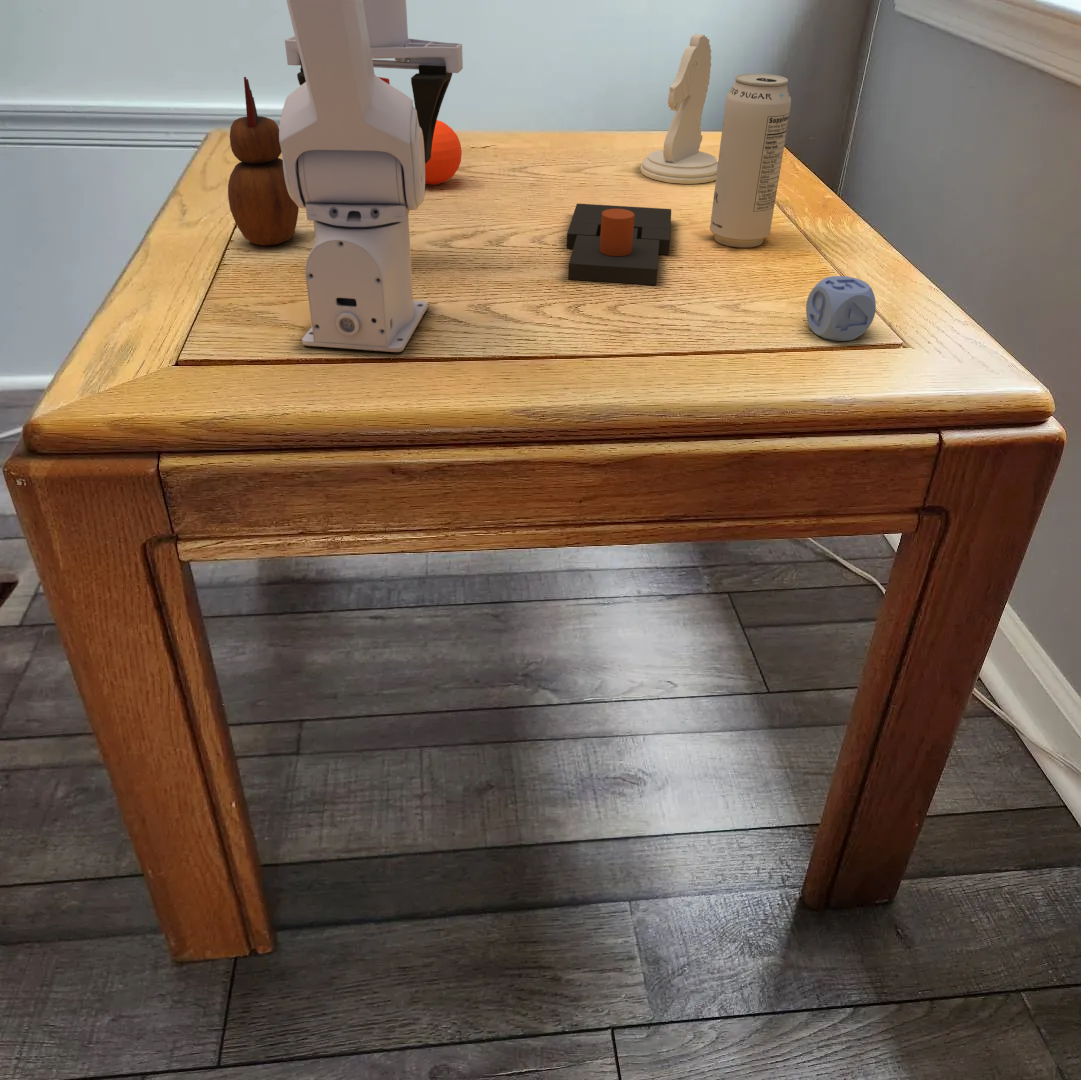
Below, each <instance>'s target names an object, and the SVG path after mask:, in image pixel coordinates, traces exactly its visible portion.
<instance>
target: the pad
mask: <svg viewBox="0 0 1081 1080" xmlns="http://www.w3.org/2000/svg"><path fill="white" fill-rule="evenodd" d="M634 216H635V215H634V213H633V212H631V211H629V210H625V209H608V210H605V211H603V212H602V217H601V232H600V236H585V235H577V237H576V240H575V244H574V247H573V249H572V251H571V253H570V258H569V262H568V270H567V271H568V273H567V275H568V276H567V279H568V280H573V281H574V280H575V281H590V282H603V283H605V282H606V283H618V284H633V285H635V284H636V285H649V286H650V285H651V286H656V285H657V280H658V279H657V277H658V269H659V268H658V265H659V255H660V254H659V240H649V239H637V234H638V228H634Z"/></svg>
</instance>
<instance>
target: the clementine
mask: <svg viewBox="0 0 1081 1080" xmlns="http://www.w3.org/2000/svg"><path fill="white" fill-rule="evenodd" d="M462 152H463V151H462V145H461V141H460V139H459V137H458V135H457V133H456V132H455V130H454V129H453V128H452V127H451V126H449V125H448V124H447V123H446V122H444V121H442V120H438V119H437V121H436V125H435V130H434V135H433V141H432V149H431V158H430V160H429V161H428V162H427V163H425V185H430V186H431V185H433V186H434V185H435V186H436V185H439V184H443V183H446V182H447V181H449V180H450V179H452V177H454V175H455V174H456V173H457V171H458V170H459V168H460V165H461V163H462Z"/></svg>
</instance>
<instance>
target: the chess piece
mask: <svg viewBox="0 0 1081 1080" xmlns="http://www.w3.org/2000/svg"><path fill="white" fill-rule="evenodd" d="M711 67H712V49H711V45H710V38H708V36H706V35H705V34H700V33H694V34H692V35H691V36H690V41H689V45H687V46H686V47H685V49H684V50H683V53H682V56H681V59H680V62H679V66H678V69H677V73H676V76H675V78H674V79H673V82H672V83H671V85H670V86H669V91H668V92H669V93H668V98H667V99H668V100H667V105H668V108H669V111H673V112H675V113H674V116H673V118H672V120H671V122H670V125H669V127H668V131H667V132H666V134H665V138H664V141H663V149H659V150H653V151H652V152H649V153H648V154H647V156H646V157H645V158H643V160H642V162H641V165H640V173H641V174H642V175H643V176H645V177H647V178H649V179H651V180H655V181H659V182H664V183H670V184H671V183H672V184H679V185H680V184H681V185H682V184H683V185H693V184H694V185H695V184H697V185H698V184H705V183H711V182H713V181H716V175H717V167H718V161H717V160H718V159H717V157H716V156H714V155H712V154H710V153H708V152H704V151H700V148H701V144H702V141H703V135H702V128H701V126H702V116H703V111H704V106H705V103H706V99H707V93H708V90H709V85H710V78H711Z"/></svg>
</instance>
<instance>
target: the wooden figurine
mask: <svg viewBox="0 0 1081 1080" xmlns="http://www.w3.org/2000/svg"><path fill="white" fill-rule="evenodd" d="M243 85H244V99H245V111H246V116H241V117H239V118H236V119H234V121H232V124H231V125H230V131H229V143H230V149H231V152H232V154H233V156H234V157H235V158H236V159H237V160H238V161H239V162H238V163H237V164H235V166H234V168H233V169H232V171H231V173H230V175H229V179H228V184H227V199H228V206H229V210H230V213H231V215H232V217H233V220H234V222H235V224H236V226H237V228H238V230H239V232H240V233H241V234H242V237H243V238H245V240H247V241H248V242H250V243H252V244H254V245H258V246H259V245H260V246H265V247H267V246H275V245H280V244H282V243H285V242H287V241H289V240H290V239H292V236H293V235H294V234H295V233H296V232H295V231H296V227H297V225H298V224H297V223H298V217H299V211H300V210H299V209H300V208H299V207H298V206H297V205H296V203H295V202H294V201H293V200H292V199H291V198H290V196H289V193H288V191H287V187H286V183H285V177H284V170H283V158H280V156H281V155H282V151H281V147H280V143H279V127H280V126H279V125H278V123H276V121H275V120H274V119H272V118H269V117H267V116H261V115H258V110H257V106H256V102H255V98H254V96H253V92H252V89H251V87H250V82H249V79H248V78H247V76H243Z"/></svg>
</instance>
